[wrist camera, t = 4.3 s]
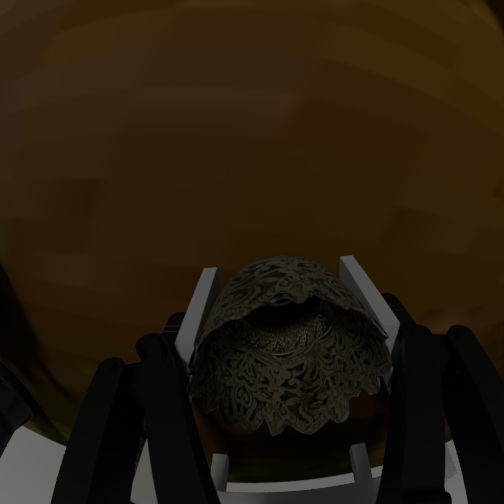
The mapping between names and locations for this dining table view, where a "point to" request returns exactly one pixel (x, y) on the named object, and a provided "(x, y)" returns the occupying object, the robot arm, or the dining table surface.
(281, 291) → the cup
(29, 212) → the dining table surface
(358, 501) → the frame
